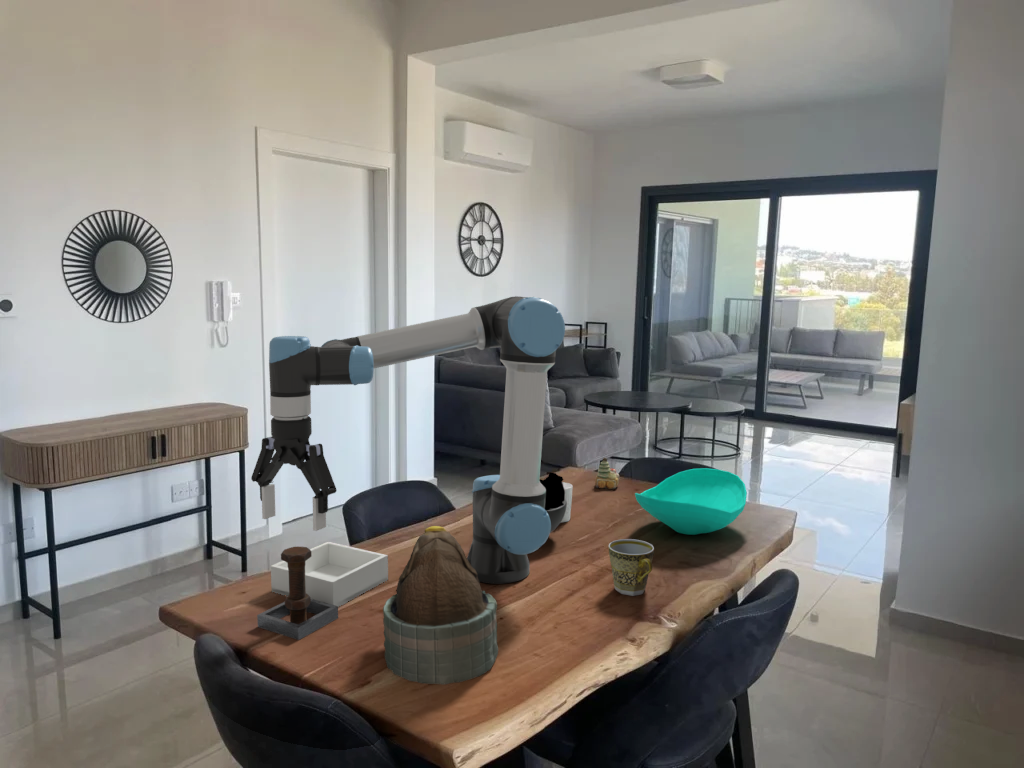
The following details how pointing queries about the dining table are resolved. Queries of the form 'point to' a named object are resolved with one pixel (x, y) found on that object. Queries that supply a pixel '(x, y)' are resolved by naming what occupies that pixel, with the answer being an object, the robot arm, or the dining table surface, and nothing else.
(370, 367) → the robot arm
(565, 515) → the white cup
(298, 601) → the bolt
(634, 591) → the ceramic cup
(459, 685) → the dining table surface
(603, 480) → the ornament
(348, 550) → the bin
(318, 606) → the socket collar
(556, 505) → the bowl of black rocks
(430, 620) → the decorative pot
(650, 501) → the table top decor
